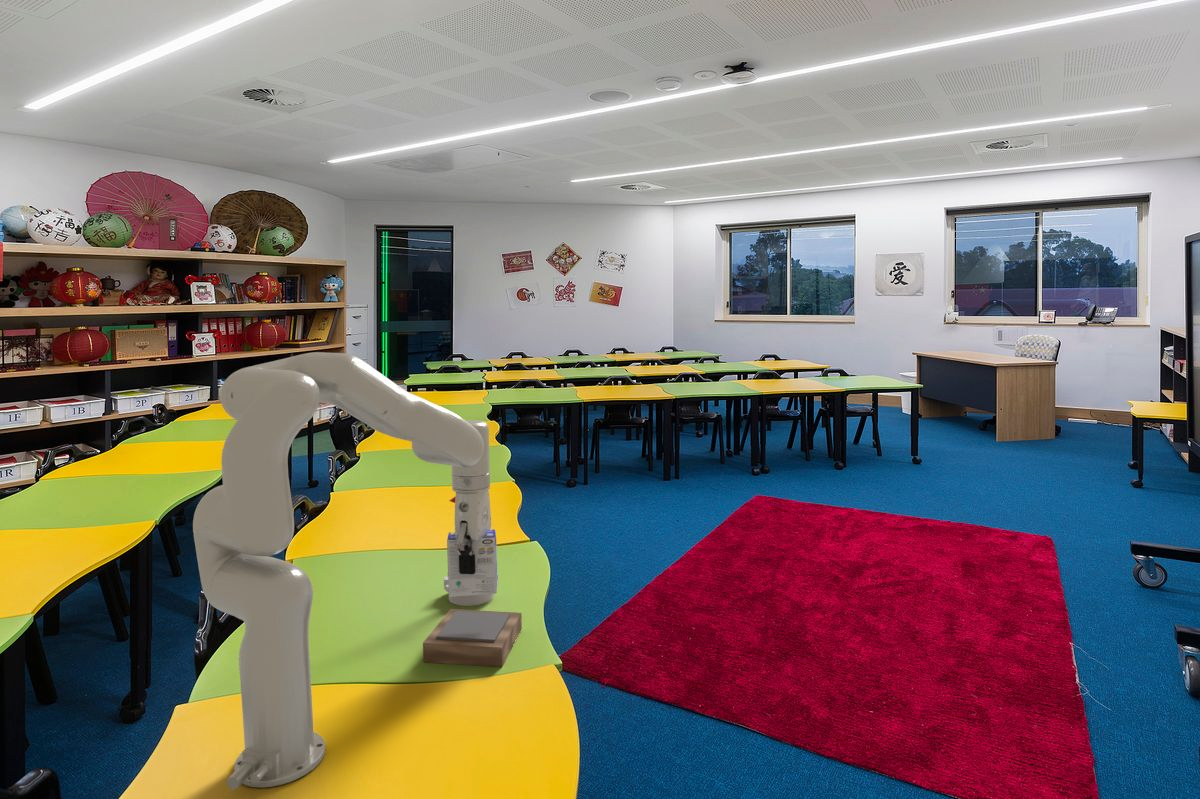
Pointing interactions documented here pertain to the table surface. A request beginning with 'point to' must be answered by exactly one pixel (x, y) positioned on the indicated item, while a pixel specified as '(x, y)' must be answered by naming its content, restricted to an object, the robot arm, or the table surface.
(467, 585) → the ink cartridge box
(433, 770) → the table surface
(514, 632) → the walnut plinth
